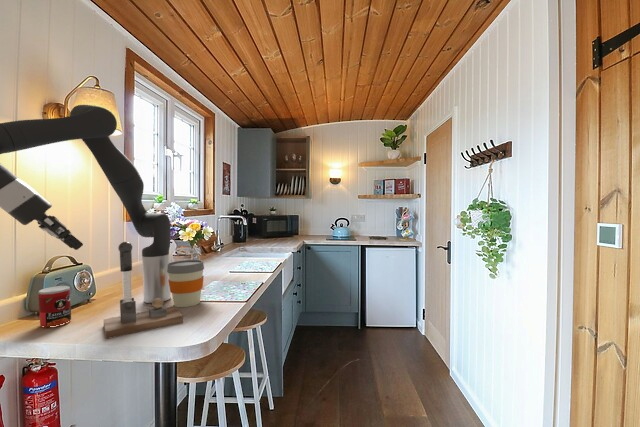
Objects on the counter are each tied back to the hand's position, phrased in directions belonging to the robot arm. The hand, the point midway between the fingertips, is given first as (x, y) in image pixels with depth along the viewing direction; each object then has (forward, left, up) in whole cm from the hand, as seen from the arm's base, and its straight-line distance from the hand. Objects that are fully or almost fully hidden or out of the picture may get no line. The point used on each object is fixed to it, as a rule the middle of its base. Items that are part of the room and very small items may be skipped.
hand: (77, 246), depth 89 cm
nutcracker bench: (-3, +15, -25) cm, 30 cm away
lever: (-3, +11, -20) cm, 23 cm away
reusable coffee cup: (-17, +31, -26) cm, 44 cm away
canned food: (-21, -7, -26) cm, 34 cm away
